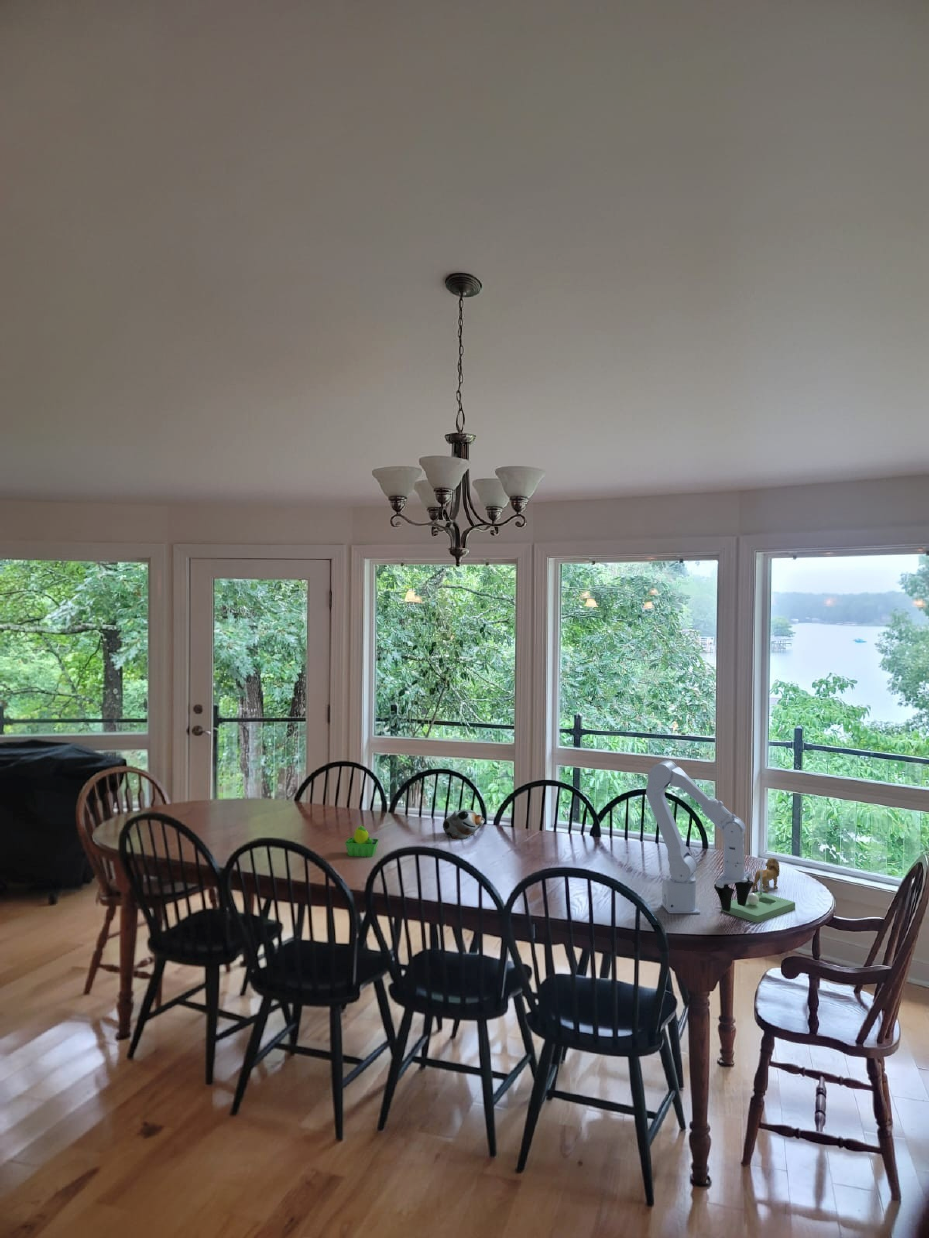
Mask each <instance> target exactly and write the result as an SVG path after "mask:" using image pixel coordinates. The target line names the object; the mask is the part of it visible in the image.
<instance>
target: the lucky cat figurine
mask: <svg viewBox="0 0 929 1238" xmlns="http://www.w3.org/2000/svg"><path fill="white" fill-rule="evenodd" d="M485 821H486V820H485V818H484V817H482V815H481V814H477V813H476V812H475V811H474V810H472V809H469V808H468V809H466V808H465V809H464V808H463V809H459V810H454V811H453V812H452V814H451V815H450V816H449V817H446V818H445V819H443V823H442V828H443V831H444V833H445V834H446V835H447V836H449V837H450V838H451V839H453V840H454V839H455V840H456V839H457V840H465V839H466V838H467V837H471V835H474V834H475V833H476V832H477V830H479V829H480V828H481V827H482V826H483V824H484V823H485Z"/></svg>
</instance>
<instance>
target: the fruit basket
mask: <svg viewBox="0 0 929 1238" xmlns="http://www.w3.org/2000/svg"><path fill="white" fill-rule="evenodd" d="M344 842H345V846H346V847H345V848H346V851H347V856H348V857H363V856H364V857H365V858H366V856H367V857H368V858H373V856H374V855H375V854H374V853H376V851H377V848H378V843H379V838H371V837H369V832H368V831H367V829H366V828H365V827H364V826H363V825H359V826H358V827H357V828H356V829H355V831H354V834H353V837H349V838H348V839H346V841H344Z"/></svg>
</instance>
